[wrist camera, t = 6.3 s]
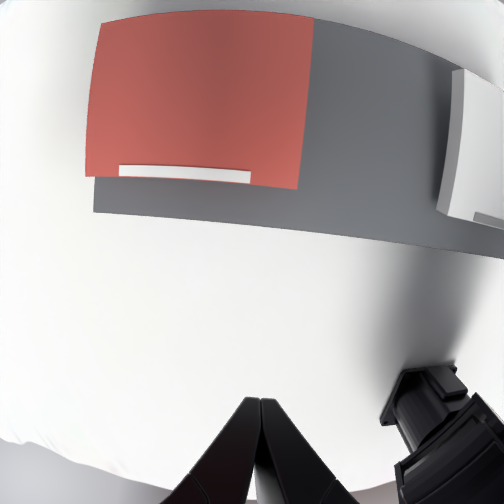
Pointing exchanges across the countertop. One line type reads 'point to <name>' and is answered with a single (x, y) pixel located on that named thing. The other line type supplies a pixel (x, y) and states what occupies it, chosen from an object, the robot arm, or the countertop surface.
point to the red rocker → (200, 97)
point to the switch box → (342, 156)
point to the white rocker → (474, 152)
